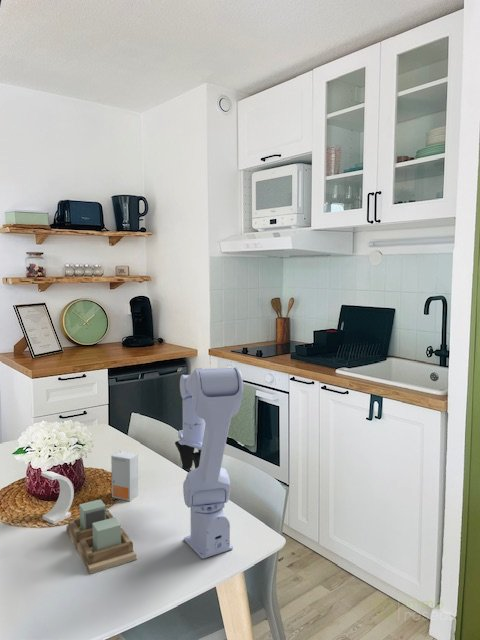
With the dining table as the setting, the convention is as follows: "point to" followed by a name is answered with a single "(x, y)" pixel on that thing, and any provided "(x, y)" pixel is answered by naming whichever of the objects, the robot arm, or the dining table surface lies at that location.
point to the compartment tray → (102, 557)
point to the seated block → (91, 513)
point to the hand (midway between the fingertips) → (194, 473)
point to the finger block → (106, 534)
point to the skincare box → (124, 475)
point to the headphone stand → (60, 498)
